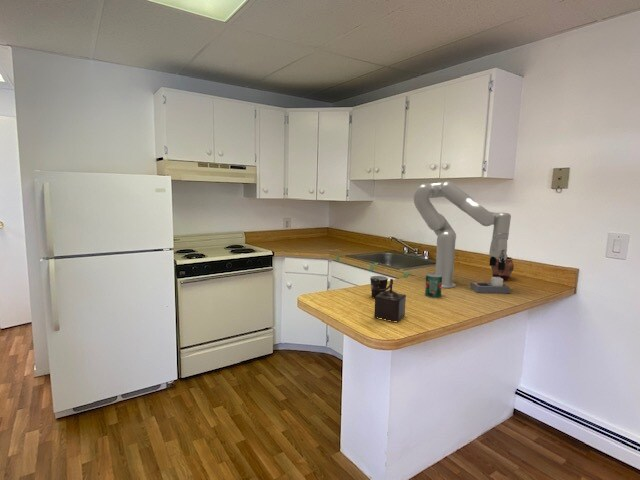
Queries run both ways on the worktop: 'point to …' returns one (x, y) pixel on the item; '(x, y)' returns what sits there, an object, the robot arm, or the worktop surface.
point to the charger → (496, 281)
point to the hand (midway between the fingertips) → (496, 267)
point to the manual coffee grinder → (388, 302)
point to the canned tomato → (433, 285)
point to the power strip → (489, 288)
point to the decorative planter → (503, 273)
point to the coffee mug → (381, 286)
